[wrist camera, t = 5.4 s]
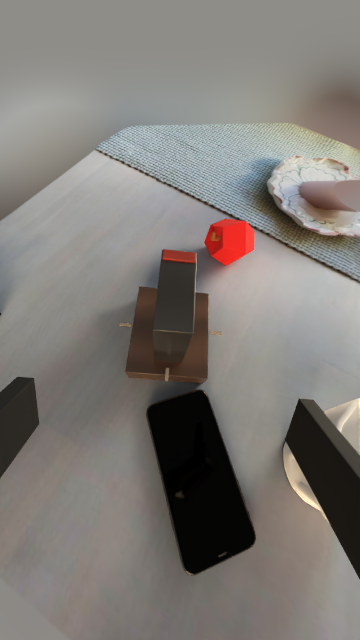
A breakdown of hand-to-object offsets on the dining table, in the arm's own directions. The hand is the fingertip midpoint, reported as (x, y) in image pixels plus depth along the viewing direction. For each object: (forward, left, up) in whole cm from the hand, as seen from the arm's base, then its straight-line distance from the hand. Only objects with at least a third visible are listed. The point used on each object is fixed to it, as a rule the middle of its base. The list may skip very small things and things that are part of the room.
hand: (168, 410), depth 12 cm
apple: (+21, +16, -16) cm, 31 cm away
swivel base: (+6, +8, -16) cm, 19 cm away
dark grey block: (+6, +8, -13) cm, 16 cm away
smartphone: (+1, -6, -16) cm, 17 cm away
